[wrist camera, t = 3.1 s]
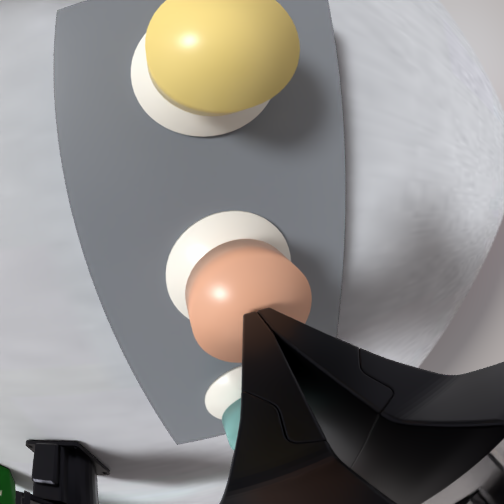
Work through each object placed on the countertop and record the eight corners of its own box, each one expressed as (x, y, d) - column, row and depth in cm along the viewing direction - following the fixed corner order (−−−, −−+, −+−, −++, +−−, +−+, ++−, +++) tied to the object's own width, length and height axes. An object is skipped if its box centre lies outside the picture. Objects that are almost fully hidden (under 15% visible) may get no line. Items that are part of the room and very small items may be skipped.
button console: (311, 377, 20) (328, 400, 18) (171, 417, 17) (177, 447, 15) (300, 12, 10) (329, -7, 8) (72, 30, 7) (55, 8, 5)
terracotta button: (292, 319, 11) (310, 343, 10) (197, 345, 10) (205, 374, 9) (289, 228, 10) (312, 244, 8) (173, 252, 9) (178, 275, 7)
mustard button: (282, 111, 8) (306, 107, 7) (152, 125, 7) (151, 121, 6) (270, 5, 6) (291, -14, 5) (145, 9, 5) (144, -14, 4)
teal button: (291, 418, 15) (302, 437, 13) (228, 438, 14) (235, 459, 12) (292, 379, 13) (305, 401, 12) (215, 403, 12) (223, 428, 11)
